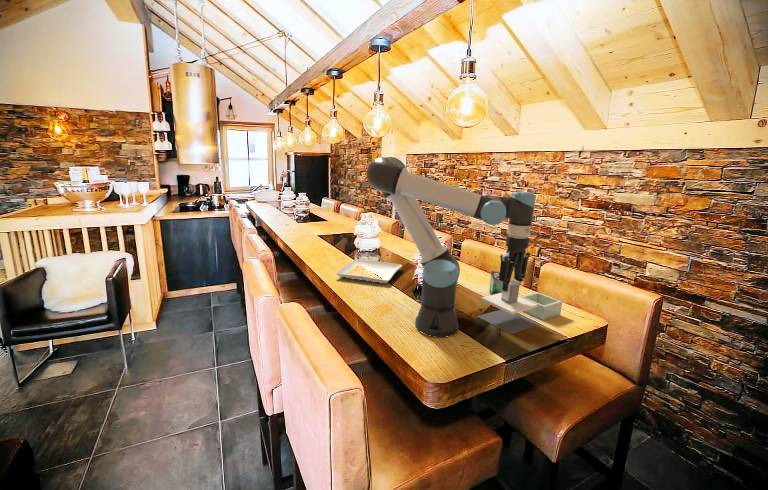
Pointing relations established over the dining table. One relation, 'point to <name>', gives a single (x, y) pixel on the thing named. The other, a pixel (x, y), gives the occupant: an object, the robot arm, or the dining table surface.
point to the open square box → (543, 306)
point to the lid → (510, 301)
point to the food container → (495, 283)
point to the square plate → (376, 267)
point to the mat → (508, 321)
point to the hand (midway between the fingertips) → (509, 298)
